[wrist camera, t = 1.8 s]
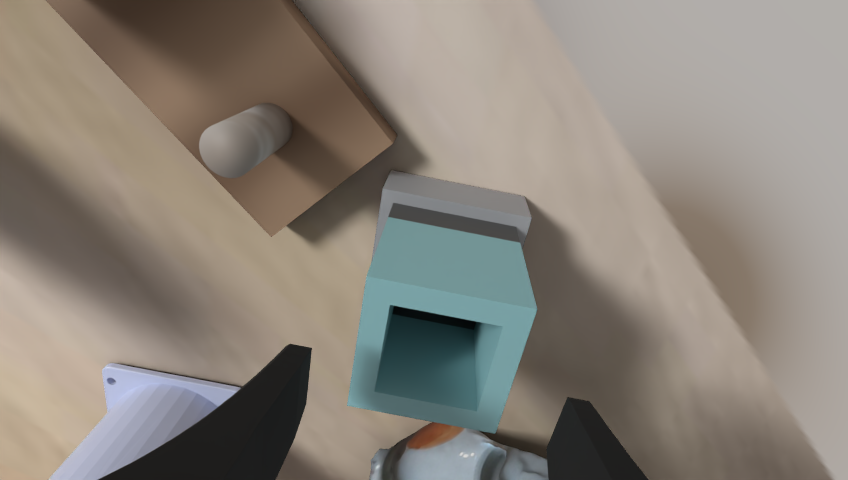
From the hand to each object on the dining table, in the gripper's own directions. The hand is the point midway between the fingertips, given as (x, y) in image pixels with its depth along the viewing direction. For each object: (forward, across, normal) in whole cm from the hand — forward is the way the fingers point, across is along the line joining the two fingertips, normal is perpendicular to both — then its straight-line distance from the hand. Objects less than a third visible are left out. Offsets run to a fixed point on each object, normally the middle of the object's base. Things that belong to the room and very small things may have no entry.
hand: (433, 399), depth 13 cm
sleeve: (+8, 0, 0) cm, 8 cm away
